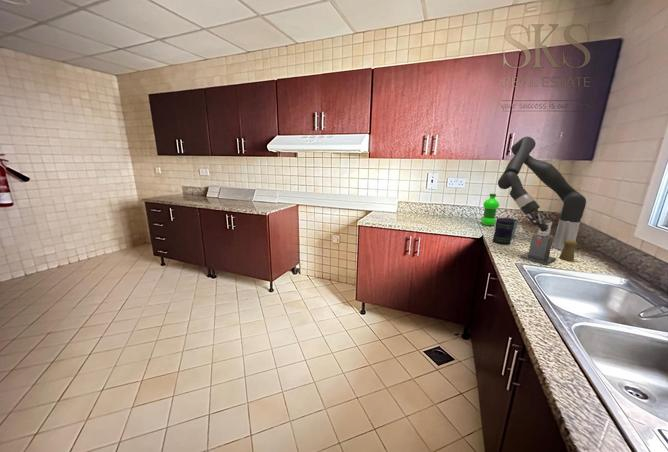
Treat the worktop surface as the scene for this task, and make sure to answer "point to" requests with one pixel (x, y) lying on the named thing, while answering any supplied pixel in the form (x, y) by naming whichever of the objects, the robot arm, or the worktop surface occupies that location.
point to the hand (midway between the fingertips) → (548, 229)
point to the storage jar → (503, 231)
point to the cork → (568, 250)
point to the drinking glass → (514, 225)
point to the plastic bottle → (490, 210)
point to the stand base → (540, 250)
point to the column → (548, 227)
